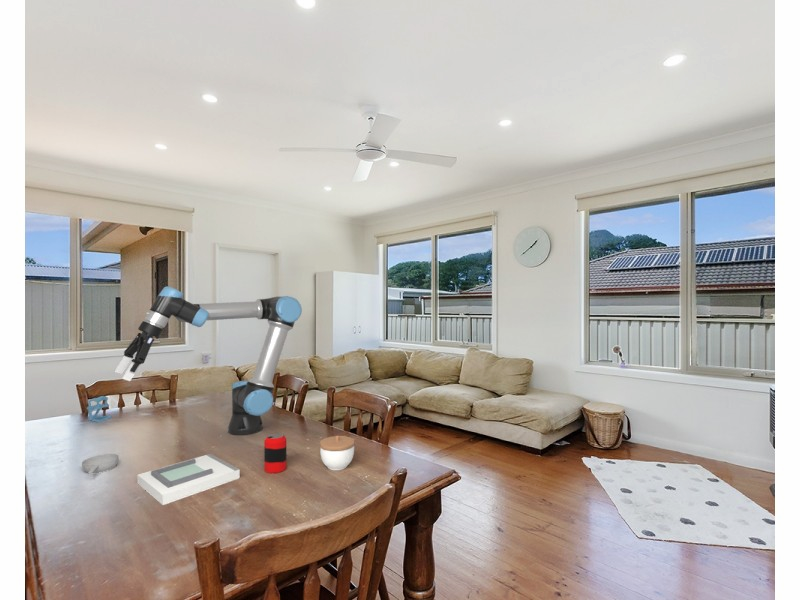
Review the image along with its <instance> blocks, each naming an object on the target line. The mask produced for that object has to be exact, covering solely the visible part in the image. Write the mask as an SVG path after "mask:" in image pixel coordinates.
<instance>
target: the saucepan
mask: <svg viewBox="0 0 800 600" xmlns="http://www.w3.org/2000/svg"><path fill="white" fill-rule="evenodd" d="M119 458H120V456H119V454H117V453H106V454H98V455H95V456H90V457H89V458H87V459H84V460H83V461H82V462H81V467H82V470H83V471H84V472H85V473H86V474H89V473H95V474H100V473H99V472H102V473H104V472H103V471H106V472H108V471H110V469H111V470H113V469H115V467H116V466H117V465H118V462H119ZM112 468H113V469H112ZM107 470H108V471H107Z"/></svg>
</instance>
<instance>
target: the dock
mask: <svg viewBox="0 0 800 600" xmlns="http://www.w3.org/2000/svg"><path fill="white" fill-rule="evenodd" d="M240 472H241V471H240V468H238V467H236V466H234V465H233V464H231V463H229V462H227V461H225V460H224V459H222V458H219V457H217V456H215V455H214V454H212V453H208V454H205V455H202V456H201V455H200V456H197V457H194V458H191V459H188V460H184V461H179V462H177V463H176V462H175V463H173V464H170V465H166V466H163V467H160V468H156V469H153V470H148V471H146V472H142V473H138V474H137V485H138V484H139V485H138V486H139V487H141V488H142V489H143V490H144V491H145V490H146V491H145V492H147V493H148V494H149V495H150V496H151V497H153V498H154V500H156V501H157V502H158V503H159V504H160V505H162V506H164V505H168V504H171V503H173V502H176V501H178V500H179V501H180V500H182V499H184V498H187V497H190V496H192V495H197V494H199V493H202V492H204V491H207V490H210V489H212V488H216V487H218V486H221V485H224V484H227V483H230V482H234V481H236V480H238V479H240Z"/></svg>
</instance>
